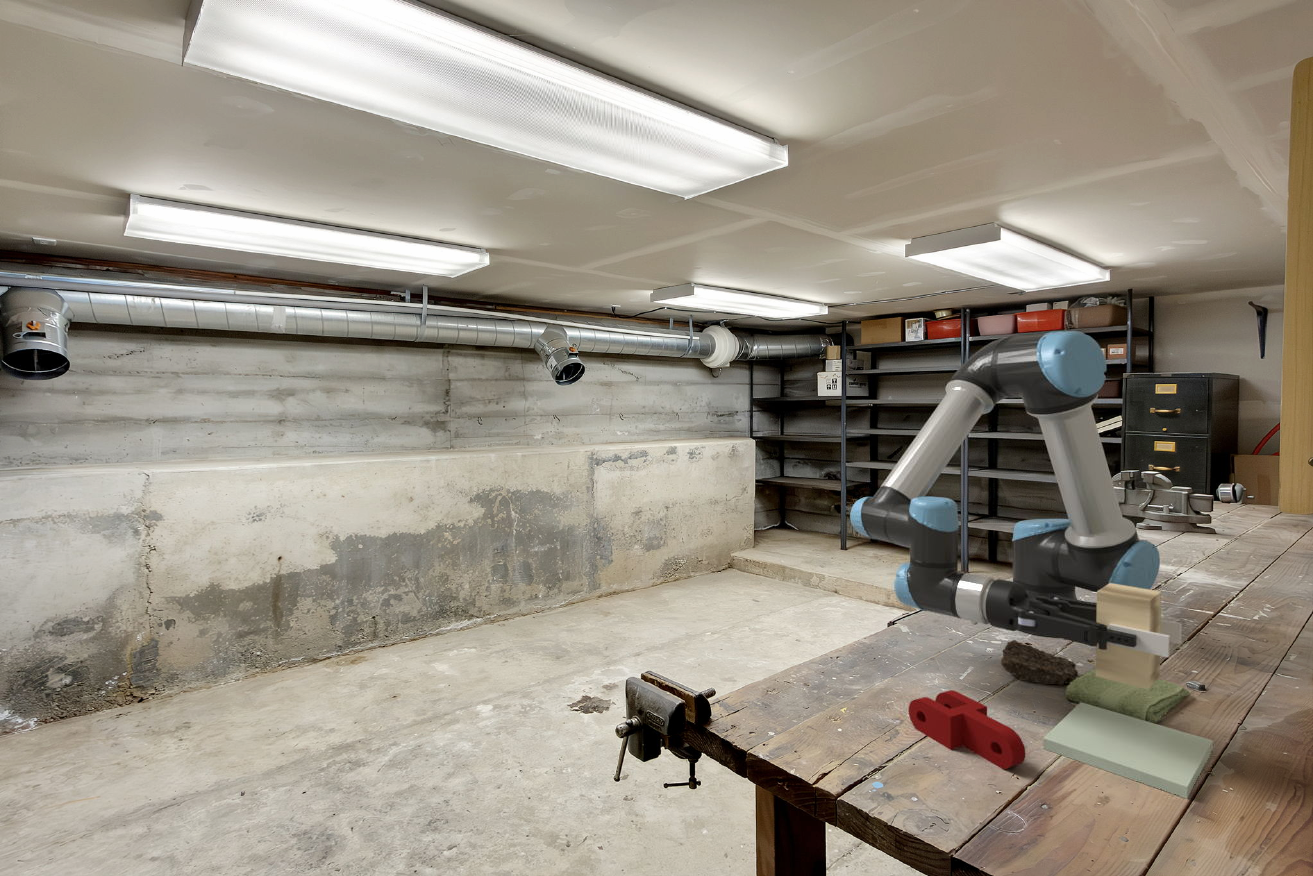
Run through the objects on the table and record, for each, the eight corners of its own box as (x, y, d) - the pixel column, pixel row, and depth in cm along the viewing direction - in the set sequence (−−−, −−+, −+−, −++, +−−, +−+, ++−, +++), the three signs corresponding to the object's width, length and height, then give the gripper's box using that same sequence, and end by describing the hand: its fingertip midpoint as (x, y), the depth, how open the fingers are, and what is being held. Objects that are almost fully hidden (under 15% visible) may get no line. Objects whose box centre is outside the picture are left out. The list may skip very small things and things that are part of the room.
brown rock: (993, 676, 116) (994, 649, 116) (1012, 660, 123) (1012, 634, 123) (1067, 696, 108) (1067, 666, 108) (1083, 677, 115) (1083, 649, 115)
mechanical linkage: (908, 725, 99) (908, 694, 99) (943, 716, 102) (943, 685, 102) (999, 780, 85) (999, 743, 85) (1037, 767, 88) (1037, 731, 87)
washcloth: (1193, 699, 106) (1194, 680, 106) (1152, 732, 96) (1152, 711, 96) (1102, 673, 117) (1103, 655, 117) (1057, 700, 107) (1057, 681, 107)
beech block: (1108, 664, 95) (1109, 583, 94) (1159, 676, 90) (1161, 591, 89) (1095, 676, 91) (1096, 591, 90) (1148, 689, 86) (1150, 600, 86)
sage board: (1080, 711, 102) (1080, 702, 102) (1212, 751, 90) (1212, 740, 90) (1043, 748, 92) (1043, 738, 92) (1186, 798, 80) (1187, 787, 80)
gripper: (1016, 611, 110) (1190, 649, 93) (966, 640, 98) (1156, 689, 80) (1016, 568, 110) (1191, 597, 92) (966, 590, 97) (1157, 629, 80)
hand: (1174, 639), depth 86 cm, fingers closed on beech block, 6 cm apart
